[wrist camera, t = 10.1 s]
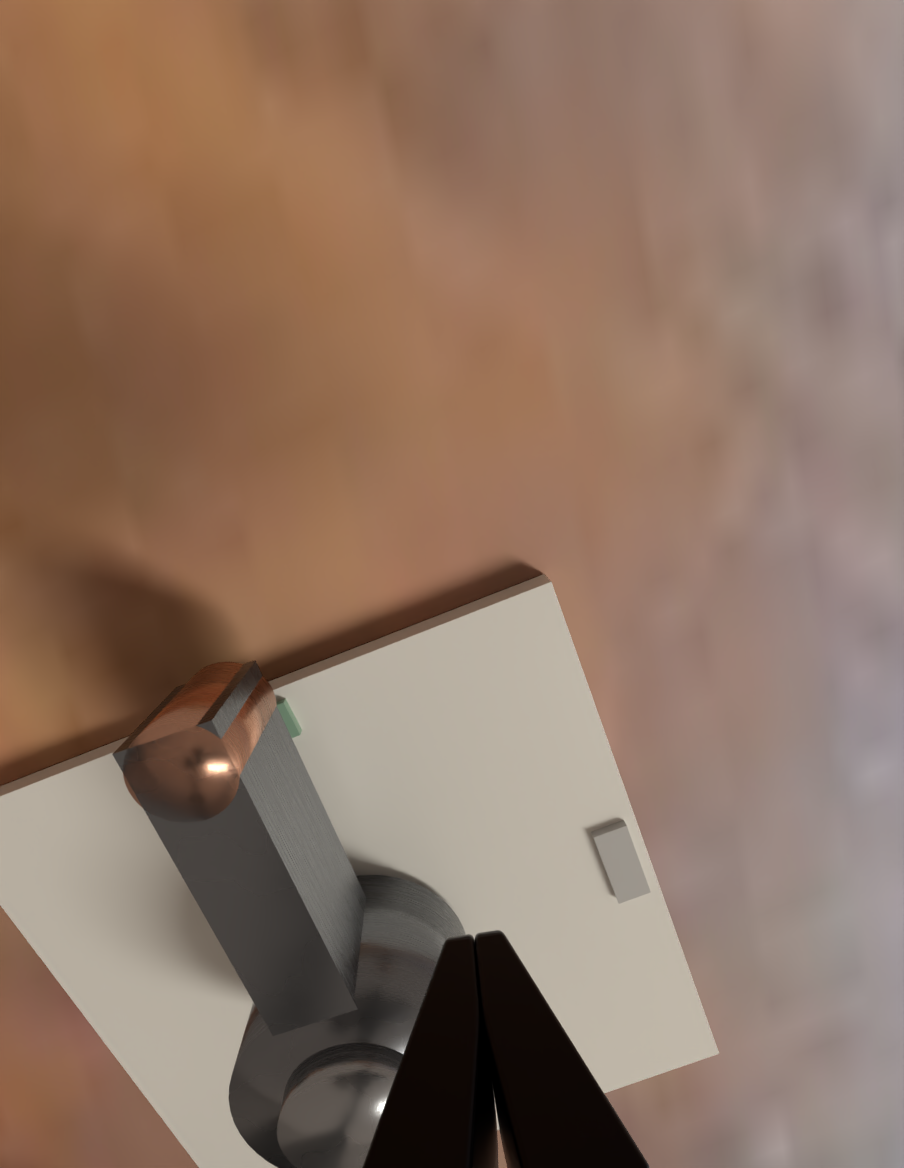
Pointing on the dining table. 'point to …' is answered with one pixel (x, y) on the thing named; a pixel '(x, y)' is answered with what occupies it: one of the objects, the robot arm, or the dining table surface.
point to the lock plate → (377, 858)
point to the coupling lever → (286, 917)
